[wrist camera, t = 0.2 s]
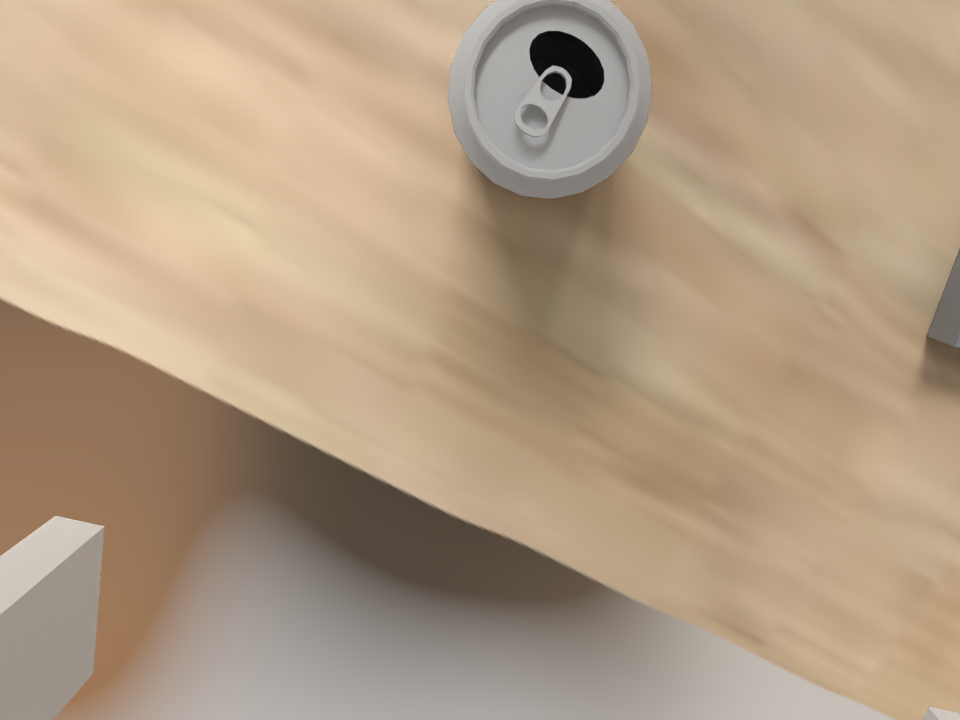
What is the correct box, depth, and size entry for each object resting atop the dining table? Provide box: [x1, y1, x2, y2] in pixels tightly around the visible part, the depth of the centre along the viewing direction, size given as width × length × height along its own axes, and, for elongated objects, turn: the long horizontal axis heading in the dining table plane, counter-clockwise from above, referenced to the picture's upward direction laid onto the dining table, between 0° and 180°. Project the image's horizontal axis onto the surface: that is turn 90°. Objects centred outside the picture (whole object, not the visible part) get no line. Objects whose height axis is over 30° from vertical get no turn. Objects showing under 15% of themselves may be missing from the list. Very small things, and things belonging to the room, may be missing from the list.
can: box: [448, 0, 652, 199], centre depth 29 cm, size 8×8×12 cm
